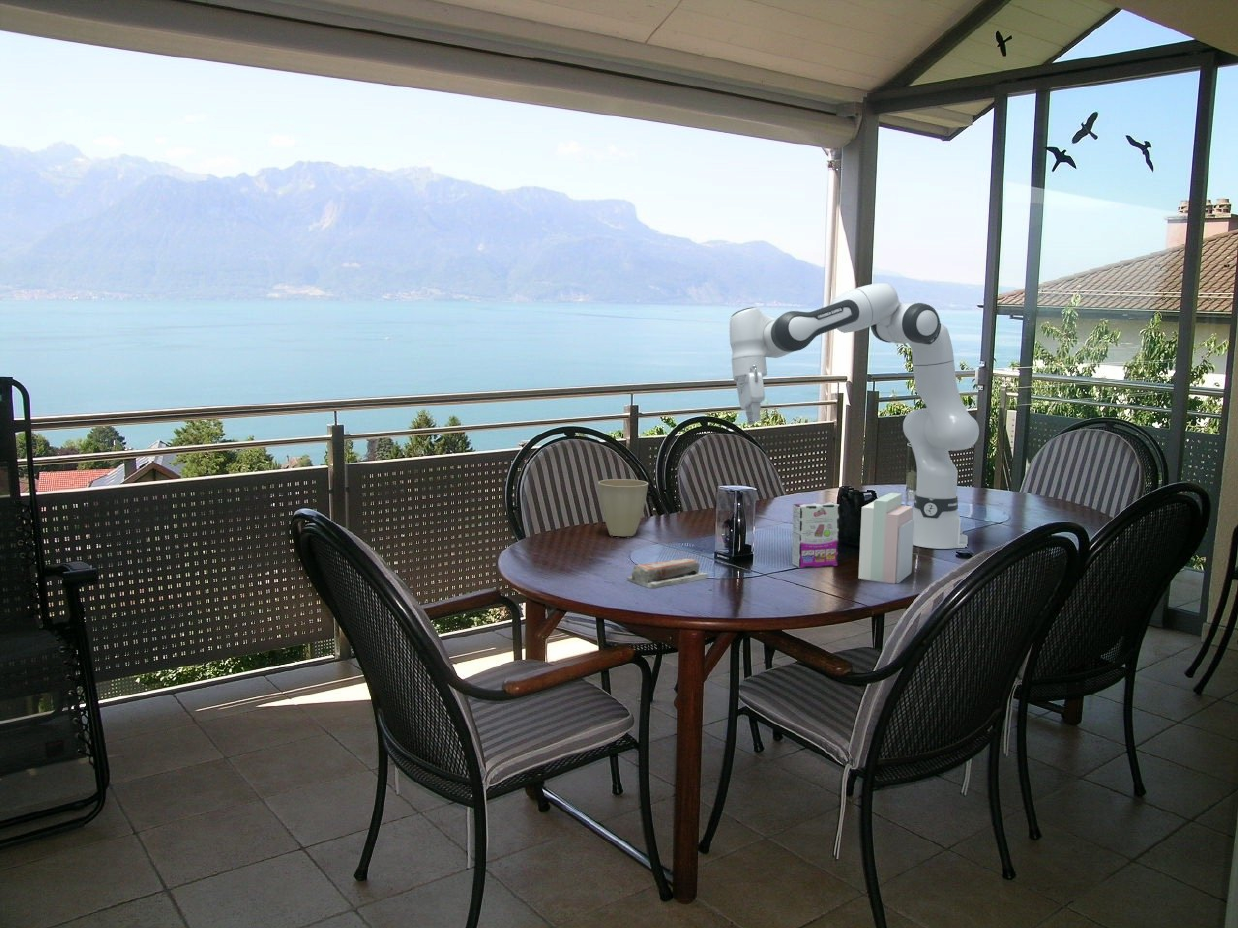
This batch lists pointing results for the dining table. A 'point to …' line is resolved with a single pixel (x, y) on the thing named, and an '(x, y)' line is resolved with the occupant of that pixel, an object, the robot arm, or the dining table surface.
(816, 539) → the candy bar box
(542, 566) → the dining table surface
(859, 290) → the robot arm
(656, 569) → the packaged product
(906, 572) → the book row
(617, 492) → the plant pot
